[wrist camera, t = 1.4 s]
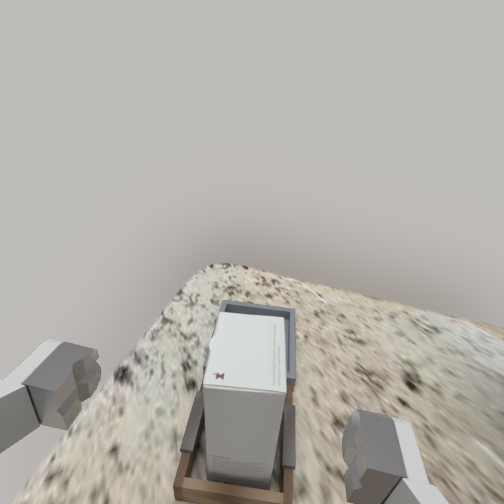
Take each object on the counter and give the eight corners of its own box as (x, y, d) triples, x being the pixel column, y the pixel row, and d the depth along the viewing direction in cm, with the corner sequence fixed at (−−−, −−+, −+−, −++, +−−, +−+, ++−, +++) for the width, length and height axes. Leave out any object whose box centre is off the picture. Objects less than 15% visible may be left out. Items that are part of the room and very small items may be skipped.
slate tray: (292, 320, 50) (295, 309, 49) (293, 391, 39) (295, 378, 38) (222, 311, 51) (222, 299, 49) (203, 378, 40) (203, 365, 39)
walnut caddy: (290, 401, 38) (294, 383, 36) (290, 518, 28) (295, 502, 26) (203, 388, 39) (202, 370, 37) (173, 499, 29) (170, 482, 27)
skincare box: (269, 493, 30) (291, 399, 22) (201, 485, 30) (197, 389, 22) (271, 410, 37) (288, 315, 29) (216, 403, 37) (217, 307, 29)
